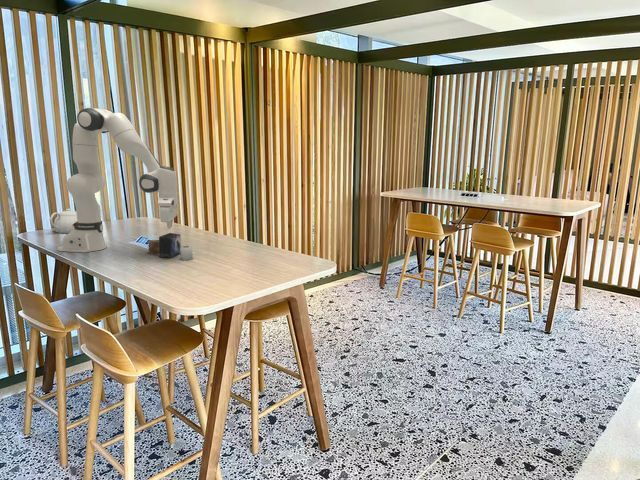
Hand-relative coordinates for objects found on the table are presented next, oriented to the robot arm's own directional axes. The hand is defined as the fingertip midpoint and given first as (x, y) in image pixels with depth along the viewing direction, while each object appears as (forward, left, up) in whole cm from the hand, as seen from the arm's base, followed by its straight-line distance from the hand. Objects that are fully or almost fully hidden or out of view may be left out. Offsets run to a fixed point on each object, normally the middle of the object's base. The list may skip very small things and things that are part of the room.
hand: (169, 228), depth 226 cm
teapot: (-72, +56, -14) cm, 93 cm away
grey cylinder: (+9, -6, -14) cm, 18 cm away
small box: (0, 0, -14) cm, 14 cm away
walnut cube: (-9, +6, -14) cm, 18 cm away
